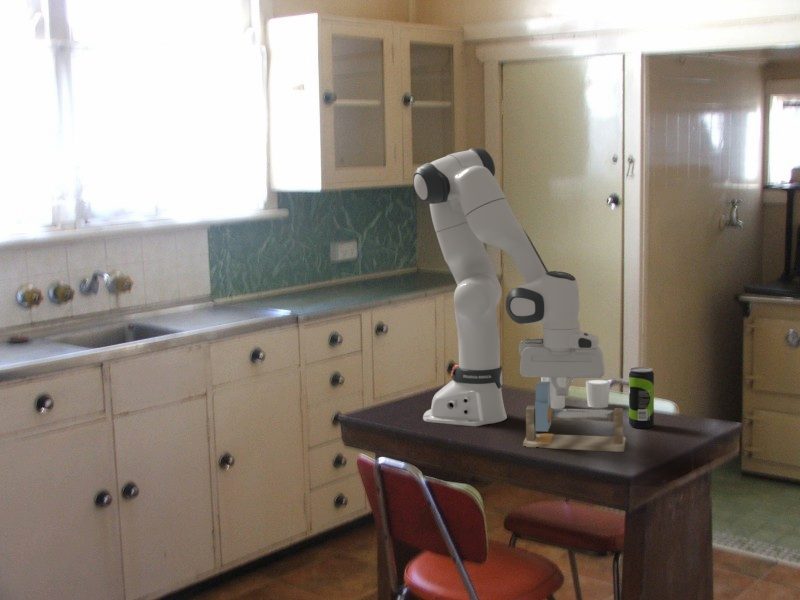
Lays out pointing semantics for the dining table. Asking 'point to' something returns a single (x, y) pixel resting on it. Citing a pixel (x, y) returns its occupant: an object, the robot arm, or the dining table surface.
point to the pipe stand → (576, 440)
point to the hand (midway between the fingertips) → (562, 395)
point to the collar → (542, 406)
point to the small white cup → (598, 393)
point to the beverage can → (641, 397)
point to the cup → (555, 400)
